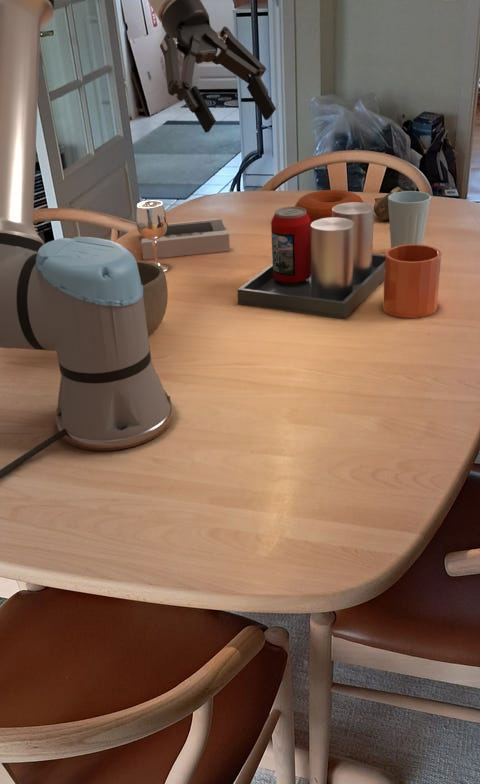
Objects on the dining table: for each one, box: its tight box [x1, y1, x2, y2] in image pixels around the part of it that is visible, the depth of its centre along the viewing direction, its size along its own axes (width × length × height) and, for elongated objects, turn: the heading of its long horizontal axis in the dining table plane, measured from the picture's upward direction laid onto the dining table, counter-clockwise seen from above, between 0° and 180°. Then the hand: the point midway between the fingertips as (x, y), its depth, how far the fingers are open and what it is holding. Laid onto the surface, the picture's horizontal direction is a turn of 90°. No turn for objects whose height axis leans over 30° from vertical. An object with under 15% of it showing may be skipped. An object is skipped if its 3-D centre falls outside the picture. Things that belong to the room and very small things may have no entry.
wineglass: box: [135, 200, 170, 272], centre depth 155 cm, size 6×6×12 cm
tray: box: [236, 253, 385, 320], centre depth 145 cm, size 24×20×3 cm
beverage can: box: [270, 206, 311, 285], centre depth 144 cm, size 7×7×12 cm
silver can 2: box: [332, 202, 375, 284], centre depth 144 cm, size 7×7×12 cm
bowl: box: [136, 260, 169, 338], centre depth 131 cm, size 17×18×10 cm
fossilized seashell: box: [373, 186, 405, 221], centre depth 174 cm, size 8×7×10 cm
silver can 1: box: [310, 217, 354, 301], centre depth 137 cm, size 7×7×12 cm
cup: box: [388, 190, 432, 248], centre depth 154 cm, size 8×8×10 cm
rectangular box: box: [140, 218, 231, 261], centre depth 170 cm, size 17×5×16 cm
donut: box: [294, 189, 365, 227], centre depth 175 cm, size 15×15×5 cm
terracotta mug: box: [382, 244, 442, 319], centre depth 134 cm, size 12×9×9 cm
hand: (241, 120), depth 139 cm, fingers open, 13 cm apart
